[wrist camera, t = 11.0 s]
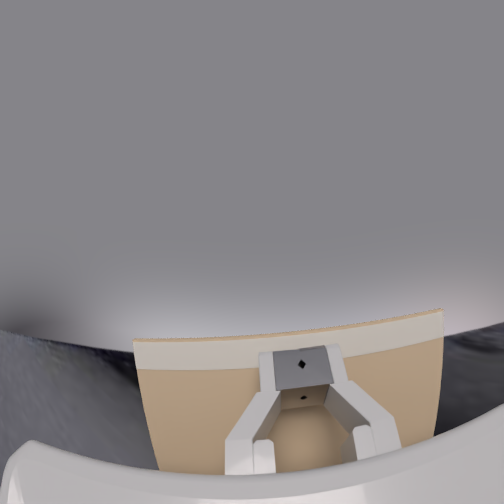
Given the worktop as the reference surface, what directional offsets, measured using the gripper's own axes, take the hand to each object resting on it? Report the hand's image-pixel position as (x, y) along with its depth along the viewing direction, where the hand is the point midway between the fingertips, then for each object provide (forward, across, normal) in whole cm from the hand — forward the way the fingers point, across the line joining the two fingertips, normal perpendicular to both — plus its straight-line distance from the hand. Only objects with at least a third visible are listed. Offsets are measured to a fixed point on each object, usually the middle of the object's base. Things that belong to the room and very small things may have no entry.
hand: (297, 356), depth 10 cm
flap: (-7, 0, +9) cm, 11 cm away
